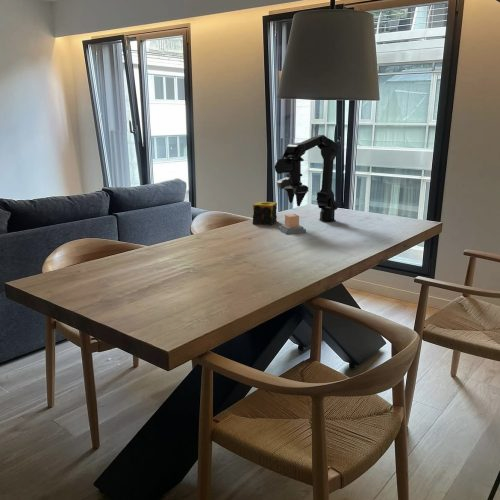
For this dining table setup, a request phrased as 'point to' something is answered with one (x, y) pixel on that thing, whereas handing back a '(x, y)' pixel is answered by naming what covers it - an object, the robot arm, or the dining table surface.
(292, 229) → the base
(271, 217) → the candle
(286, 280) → the dining table surface
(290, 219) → the block
